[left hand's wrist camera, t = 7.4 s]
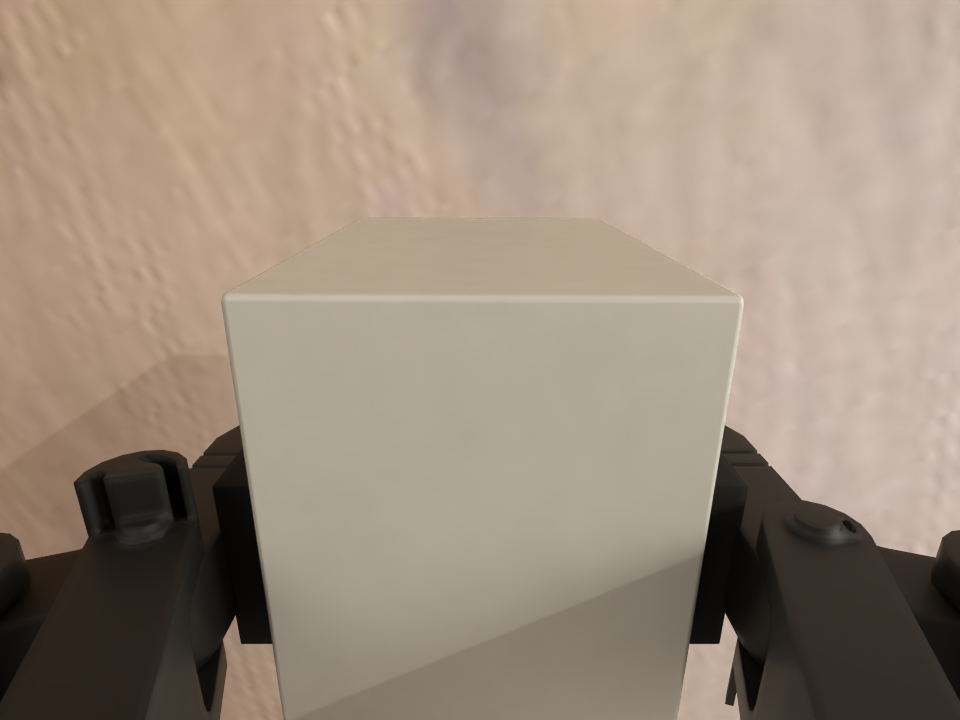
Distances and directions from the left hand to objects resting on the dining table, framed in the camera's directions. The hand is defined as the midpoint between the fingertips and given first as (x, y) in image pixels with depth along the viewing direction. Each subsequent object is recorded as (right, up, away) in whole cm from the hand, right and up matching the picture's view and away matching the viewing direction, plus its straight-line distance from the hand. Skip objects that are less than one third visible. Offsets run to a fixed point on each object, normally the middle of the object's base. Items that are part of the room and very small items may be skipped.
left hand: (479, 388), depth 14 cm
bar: (0, -25, +9) cm, 26 cm away
